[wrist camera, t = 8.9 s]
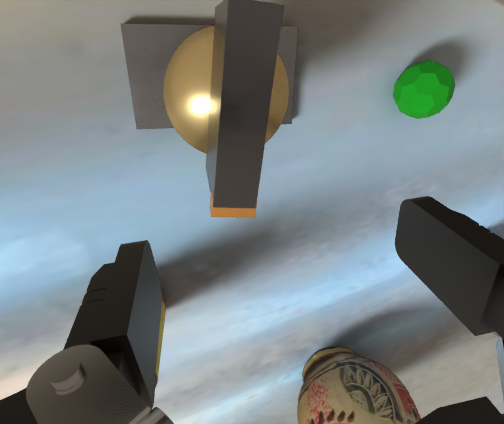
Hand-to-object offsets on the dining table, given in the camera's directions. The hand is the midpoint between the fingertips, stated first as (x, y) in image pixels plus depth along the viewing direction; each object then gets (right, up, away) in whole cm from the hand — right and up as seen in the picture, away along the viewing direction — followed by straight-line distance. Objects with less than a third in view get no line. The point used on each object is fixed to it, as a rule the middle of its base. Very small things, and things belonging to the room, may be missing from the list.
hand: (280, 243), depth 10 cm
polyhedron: (+14, +13, +22) cm, 30 cm away
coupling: (-3, +9, +12) cm, 16 cm away
